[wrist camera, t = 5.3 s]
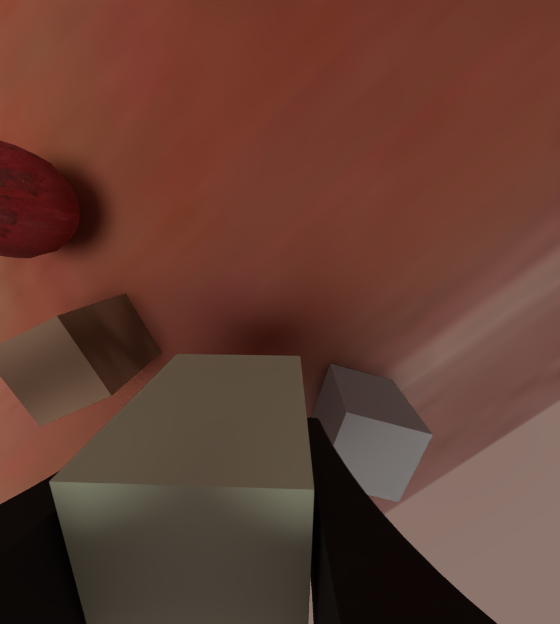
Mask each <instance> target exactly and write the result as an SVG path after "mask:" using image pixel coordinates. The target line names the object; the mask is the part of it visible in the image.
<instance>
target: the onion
mask: <svg viewBox="0 0 560 624" xmlns="http://www.w3.org/2000/svg"><path fill="white" fill-rule="evenodd" d="M79 219H80V205H79V202H78V200H77V197H76V195H75V192H74V190H73V188H72V186H71V185H70V184H69V183H68V182H67V181H66V179H65V178H64V177H63V176H62V175H61V174H60V173H59V172H58V171H57V170H56V169H55V168H54V167H53V165H52V164H51V163H49V162H47V161H46V160H44V159H42V158H40V157H39V156H37V155H35V154H33V153H31V152H29V151H26V150H24V149H22V148H20V147H18V146H16V145H13V144H9V143H6V142H3V141H0V256H6V257H15V258H32V257H35V256H39V255H42V254H46V253H50V252H54V251H57V250H58V249H59V248H60V247H61V246H63V245H64V244H65V243H66V242H67V241H68V240H70V239H71V238H72V237H73V236H74V234H75V231H76V229H77V227H78V225H79Z"/></svg>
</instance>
